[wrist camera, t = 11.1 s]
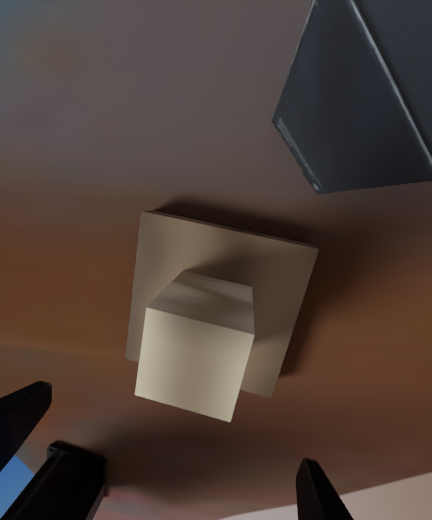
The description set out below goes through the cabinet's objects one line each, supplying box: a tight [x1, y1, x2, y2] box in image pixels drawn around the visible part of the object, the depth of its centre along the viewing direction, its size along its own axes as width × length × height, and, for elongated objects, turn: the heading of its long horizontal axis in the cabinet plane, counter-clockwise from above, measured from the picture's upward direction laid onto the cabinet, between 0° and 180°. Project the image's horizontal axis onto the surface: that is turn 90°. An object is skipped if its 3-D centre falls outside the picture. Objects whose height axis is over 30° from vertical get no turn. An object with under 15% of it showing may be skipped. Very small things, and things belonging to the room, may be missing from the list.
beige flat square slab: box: [125, 210, 319, 398], centre depth 18 cm, size 12×12×2 cm
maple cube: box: [135, 271, 255, 422], centre depth 14 cm, size 5×5×6 cm
